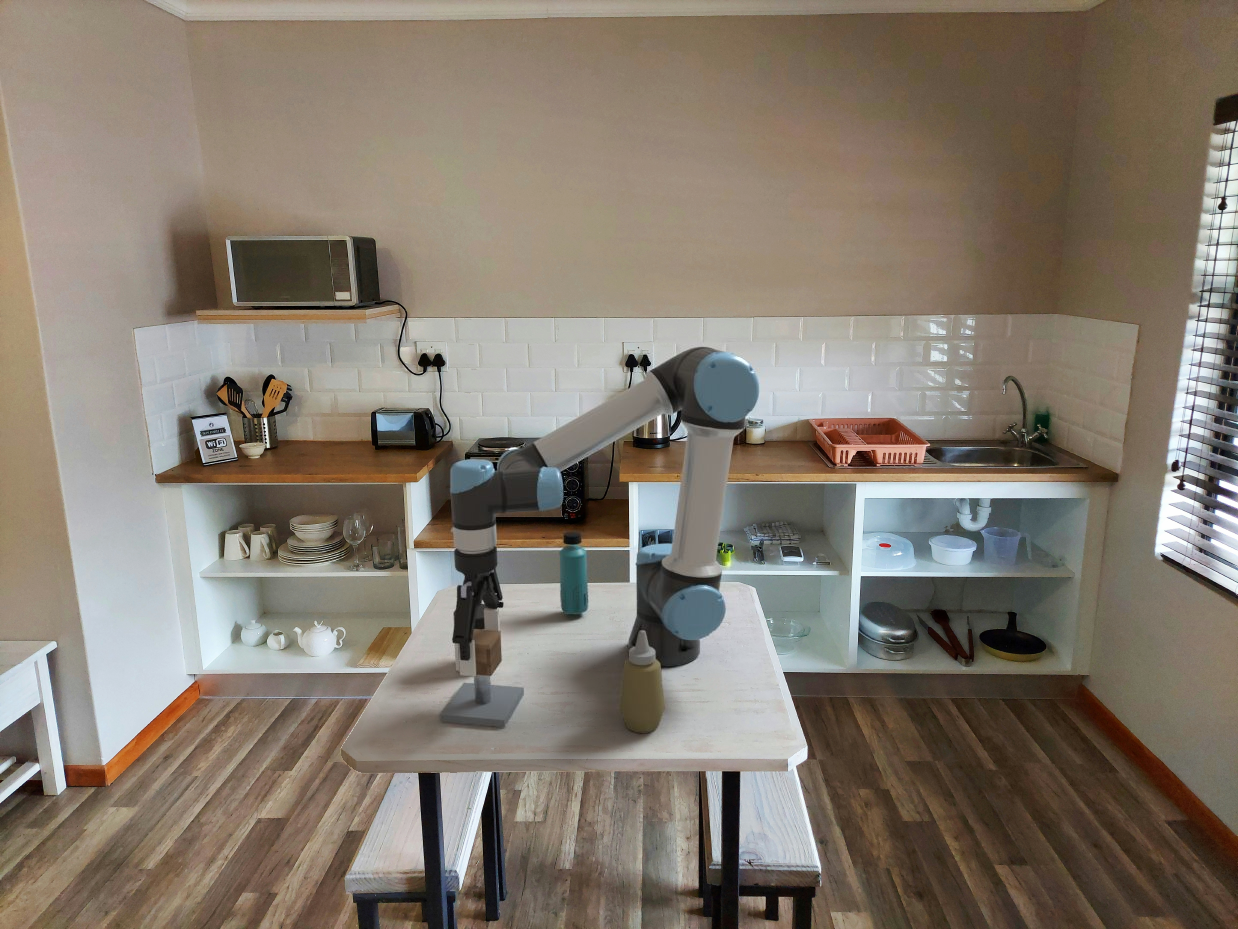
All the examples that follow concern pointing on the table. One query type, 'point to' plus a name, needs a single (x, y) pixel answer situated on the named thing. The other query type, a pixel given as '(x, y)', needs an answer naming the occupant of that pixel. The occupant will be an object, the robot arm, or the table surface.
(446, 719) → the base plate
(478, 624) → the jar
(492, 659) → the brown wooden cube
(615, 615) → the table surface
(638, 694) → the squeeze bottle
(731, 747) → the table surface
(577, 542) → the beverage bottle
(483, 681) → the post
